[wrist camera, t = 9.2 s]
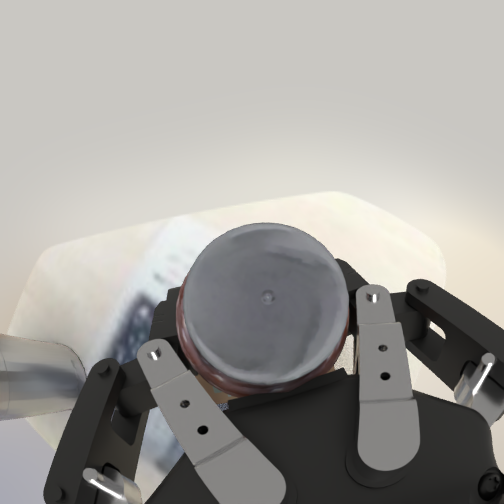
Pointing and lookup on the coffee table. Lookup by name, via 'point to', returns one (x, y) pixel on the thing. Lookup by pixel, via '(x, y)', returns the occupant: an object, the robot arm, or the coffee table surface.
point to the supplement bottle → (263, 310)
